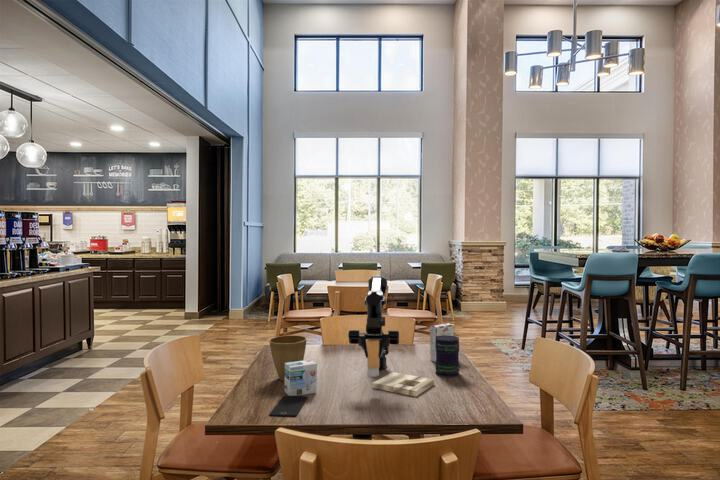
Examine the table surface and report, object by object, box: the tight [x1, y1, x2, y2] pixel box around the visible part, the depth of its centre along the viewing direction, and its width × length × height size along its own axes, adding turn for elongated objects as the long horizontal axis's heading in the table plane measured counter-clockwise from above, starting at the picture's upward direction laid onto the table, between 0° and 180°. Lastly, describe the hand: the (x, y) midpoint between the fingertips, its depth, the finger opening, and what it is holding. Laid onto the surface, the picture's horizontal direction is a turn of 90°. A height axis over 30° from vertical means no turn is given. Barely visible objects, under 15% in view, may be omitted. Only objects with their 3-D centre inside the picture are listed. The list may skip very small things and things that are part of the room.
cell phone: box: [268, 395, 309, 418], centre depth 154 cm, size 9×18×1 cm, turn 174°
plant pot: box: [268, 334, 307, 382], centre depth 184 cm, size 15×15×16 cm
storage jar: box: [434, 335, 460, 378], centre depth 190 cm, size 10×10×15 cm
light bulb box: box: [284, 359, 318, 396], centre depth 168 cm, size 11×7×11 cm, turn 118°
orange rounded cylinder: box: [366, 339, 380, 378], centre depth 166 cm, size 4×4×12 cm
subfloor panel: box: [372, 371, 435, 397], centre depth 174 cm, size 18×16×2 cm
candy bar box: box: [429, 322, 455, 363], centre depth 211 cm, size 11×5×16 cm, turn 120°
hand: (373, 357), depth 165 cm, fingers closed on orange rounded cylinder, 4 cm apart
